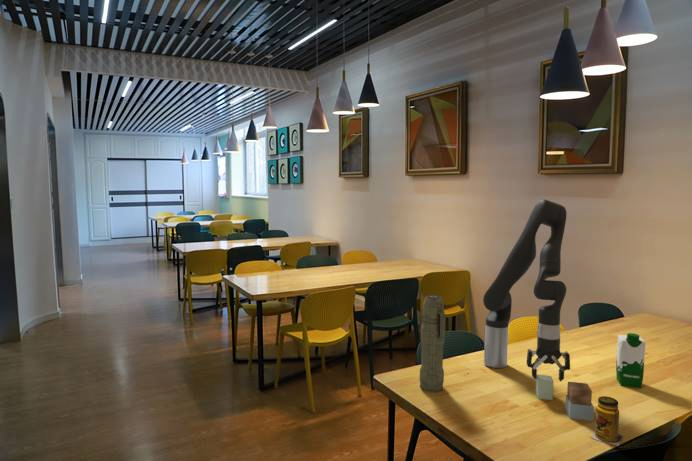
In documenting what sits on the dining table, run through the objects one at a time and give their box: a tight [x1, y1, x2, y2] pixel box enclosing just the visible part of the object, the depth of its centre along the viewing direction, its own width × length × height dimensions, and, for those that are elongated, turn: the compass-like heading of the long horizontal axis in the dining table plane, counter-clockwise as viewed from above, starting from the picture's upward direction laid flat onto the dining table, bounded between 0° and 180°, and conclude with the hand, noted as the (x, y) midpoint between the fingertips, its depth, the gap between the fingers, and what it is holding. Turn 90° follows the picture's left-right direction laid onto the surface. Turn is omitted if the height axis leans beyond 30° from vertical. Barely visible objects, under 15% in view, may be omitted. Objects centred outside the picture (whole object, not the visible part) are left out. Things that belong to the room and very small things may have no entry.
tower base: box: [564, 394, 595, 422], centre depth 153 cm, size 7×7×5 cm
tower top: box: [566, 381, 593, 406], centre depth 153 cm, size 6×6×5 cm
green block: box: [535, 374, 554, 401], centre depth 167 cm, size 5×5×7 cm
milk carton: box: [615, 332, 646, 389], centre depth 179 cm, size 9×9×20 cm
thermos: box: [419, 294, 447, 393], centre depth 173 cm, size 9×12×35 cm
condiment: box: [590, 395, 625, 447], centre depth 139 cm, size 7×8×12 cm
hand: (547, 379), depth 167 cm, fingers open, 8 cm apart
